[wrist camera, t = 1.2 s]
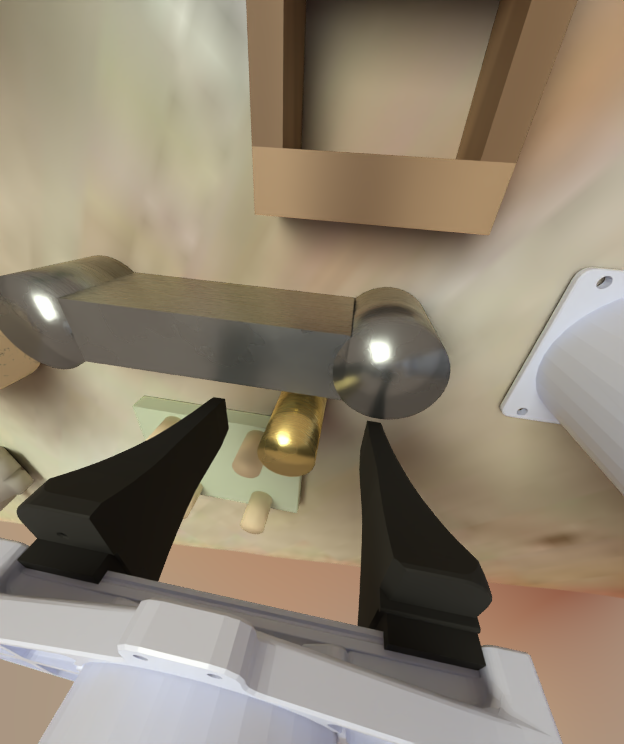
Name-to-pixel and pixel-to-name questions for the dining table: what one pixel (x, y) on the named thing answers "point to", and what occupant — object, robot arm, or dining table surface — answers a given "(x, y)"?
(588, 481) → the dining table surface
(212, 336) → the ball-knob grey rod
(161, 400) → the rack
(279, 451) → the pin
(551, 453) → the dining table surface
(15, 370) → the teacup with lid
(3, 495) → the bunny figurine
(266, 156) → the slot block
